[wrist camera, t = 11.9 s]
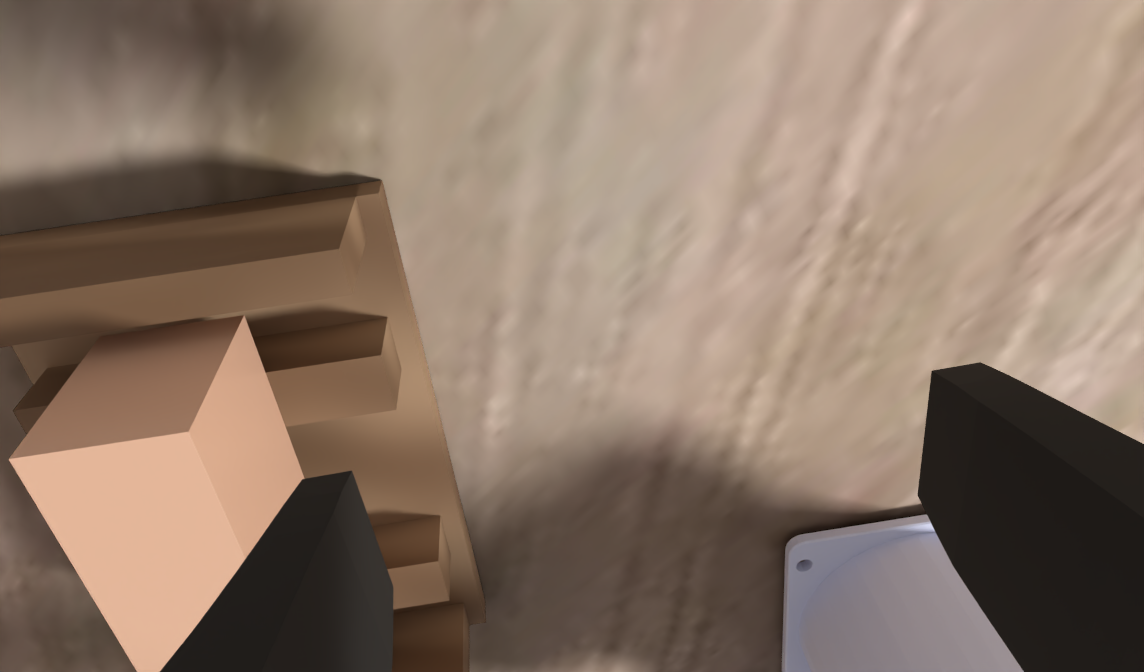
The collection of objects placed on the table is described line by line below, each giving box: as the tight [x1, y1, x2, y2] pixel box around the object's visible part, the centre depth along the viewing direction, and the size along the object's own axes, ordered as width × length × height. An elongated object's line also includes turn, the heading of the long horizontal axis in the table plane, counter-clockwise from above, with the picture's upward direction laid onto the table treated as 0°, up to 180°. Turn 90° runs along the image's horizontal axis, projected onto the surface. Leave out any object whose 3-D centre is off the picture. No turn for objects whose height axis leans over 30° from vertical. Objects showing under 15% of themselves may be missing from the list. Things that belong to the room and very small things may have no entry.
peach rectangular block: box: [9, 315, 305, 672], centre depth 18 cm, size 10×3×4 cm, turn 6°
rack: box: [0, 180, 486, 672], centre depth 21 cm, size 14×9×4 cm, turn 7°
